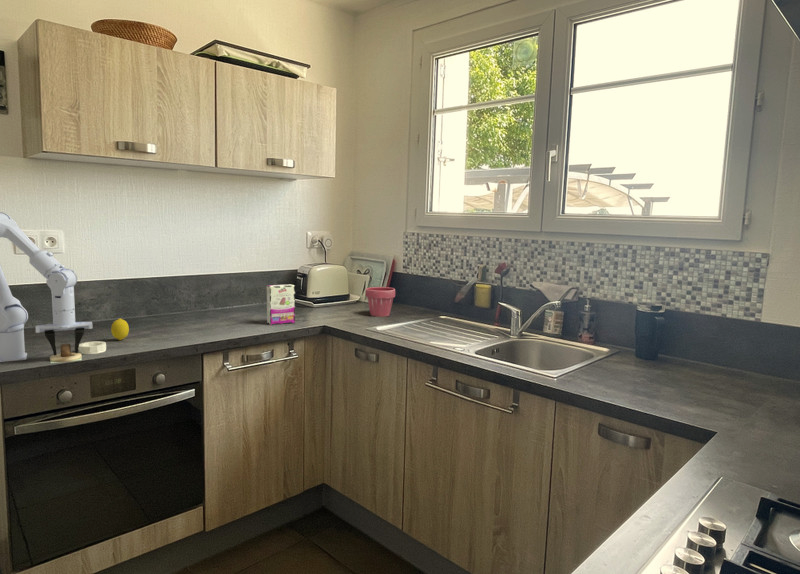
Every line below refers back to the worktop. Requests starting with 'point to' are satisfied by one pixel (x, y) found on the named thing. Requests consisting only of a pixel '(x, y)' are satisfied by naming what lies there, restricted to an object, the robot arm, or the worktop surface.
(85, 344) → the bowl
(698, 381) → the worktop surface
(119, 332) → the lemon
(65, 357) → the lid
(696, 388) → the worktop surface
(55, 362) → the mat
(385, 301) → the plant pot
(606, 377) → the worktop surface
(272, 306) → the candy bar box
